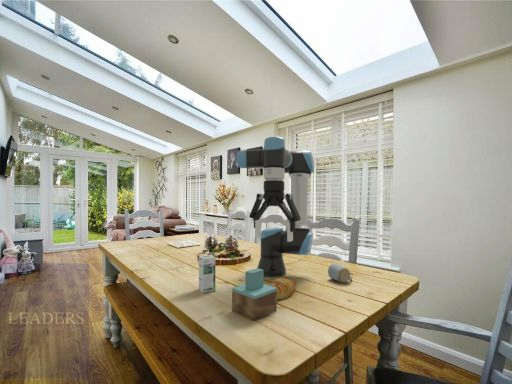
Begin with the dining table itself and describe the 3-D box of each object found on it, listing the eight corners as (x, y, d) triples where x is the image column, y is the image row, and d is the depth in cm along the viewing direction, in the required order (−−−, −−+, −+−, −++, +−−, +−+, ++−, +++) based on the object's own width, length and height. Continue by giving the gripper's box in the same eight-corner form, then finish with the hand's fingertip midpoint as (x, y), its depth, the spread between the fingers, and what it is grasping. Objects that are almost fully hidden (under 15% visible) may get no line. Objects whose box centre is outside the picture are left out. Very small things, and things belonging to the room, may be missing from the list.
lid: (232, 295, 96) (232, 270, 96) (254, 287, 104) (254, 265, 104) (254, 304, 88) (255, 277, 88) (276, 295, 96) (276, 270, 96)
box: (232, 310, 96) (232, 290, 96) (253, 302, 104) (254, 283, 104) (254, 321, 88) (254, 299, 88) (276, 310, 96) (276, 290, 96)
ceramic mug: (339, 284, 126) (339, 267, 126) (327, 279, 133) (327, 263, 133) (356, 282, 130) (356, 265, 130) (344, 277, 138) (344, 261, 138)
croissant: (270, 313, 102) (278, 297, 100) (252, 295, 108) (259, 279, 105) (299, 296, 119) (307, 282, 116) (282, 281, 124) (289, 267, 122)
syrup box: (202, 293, 113) (202, 257, 113) (198, 288, 118) (198, 255, 118) (215, 291, 115) (215, 256, 116) (211, 287, 121) (211, 253, 121)
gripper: (240, 180, 104) (239, 237, 103) (300, 178, 89) (299, 244, 89) (252, 181, 110) (251, 235, 109) (310, 180, 95) (309, 241, 95)
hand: (273, 239), depth 99 cm, fingers open, 13 cm apart
